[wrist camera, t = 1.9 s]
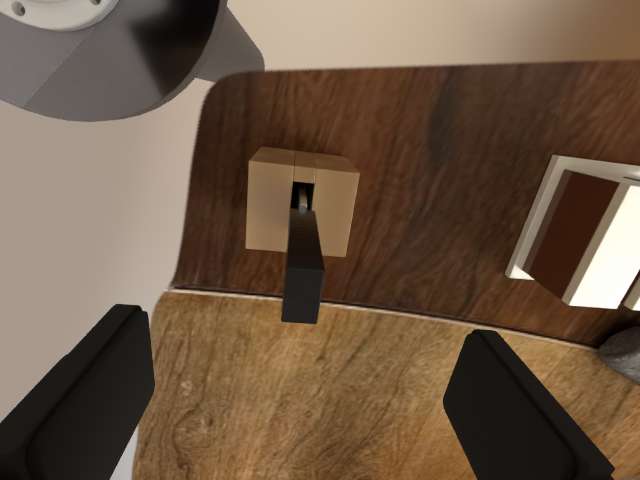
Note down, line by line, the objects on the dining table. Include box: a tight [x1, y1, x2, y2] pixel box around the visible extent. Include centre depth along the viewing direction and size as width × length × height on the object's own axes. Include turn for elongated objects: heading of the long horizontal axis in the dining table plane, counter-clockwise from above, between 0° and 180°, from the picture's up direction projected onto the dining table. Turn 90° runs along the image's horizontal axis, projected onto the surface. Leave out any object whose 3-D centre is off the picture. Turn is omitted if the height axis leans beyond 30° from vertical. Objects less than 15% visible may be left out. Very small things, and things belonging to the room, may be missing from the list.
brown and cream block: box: [505, 155, 640, 311], centre depth 27 cm, size 12×12×7 cm
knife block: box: [246, 146, 360, 257], centre depth 24 cm, size 7×6×7 cm
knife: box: [281, 182, 325, 324], centre depth 20 cm, size 1×3×17 cm, turn 173°
